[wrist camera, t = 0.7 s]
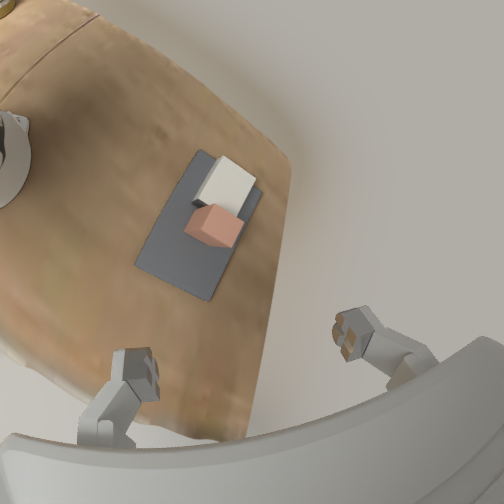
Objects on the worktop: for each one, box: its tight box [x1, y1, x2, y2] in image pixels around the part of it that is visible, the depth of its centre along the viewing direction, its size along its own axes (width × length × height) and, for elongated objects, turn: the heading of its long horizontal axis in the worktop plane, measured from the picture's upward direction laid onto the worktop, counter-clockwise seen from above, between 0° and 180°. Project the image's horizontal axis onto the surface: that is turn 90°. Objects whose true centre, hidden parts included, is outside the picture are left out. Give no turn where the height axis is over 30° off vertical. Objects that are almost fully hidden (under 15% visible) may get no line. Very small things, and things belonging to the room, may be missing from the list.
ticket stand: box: [134, 149, 262, 302], centre depth 44 cm, size 14×22×5 cm, turn 152°
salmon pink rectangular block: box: [184, 203, 244, 248], centre depth 40 cm, size 5×4×9 cm
